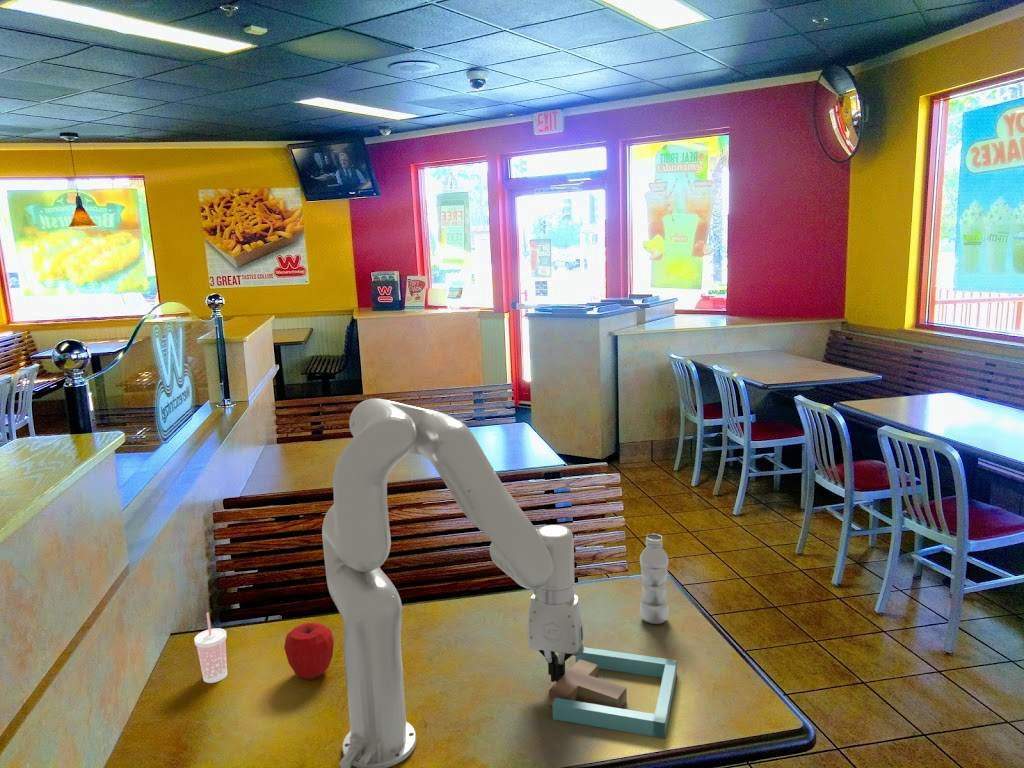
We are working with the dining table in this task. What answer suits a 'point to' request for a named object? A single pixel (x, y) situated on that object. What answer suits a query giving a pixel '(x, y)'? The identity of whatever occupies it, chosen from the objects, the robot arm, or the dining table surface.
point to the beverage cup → (212, 653)
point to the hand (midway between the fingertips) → (556, 678)
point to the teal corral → (617, 716)
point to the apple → (309, 649)
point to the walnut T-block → (588, 687)
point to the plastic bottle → (654, 581)
